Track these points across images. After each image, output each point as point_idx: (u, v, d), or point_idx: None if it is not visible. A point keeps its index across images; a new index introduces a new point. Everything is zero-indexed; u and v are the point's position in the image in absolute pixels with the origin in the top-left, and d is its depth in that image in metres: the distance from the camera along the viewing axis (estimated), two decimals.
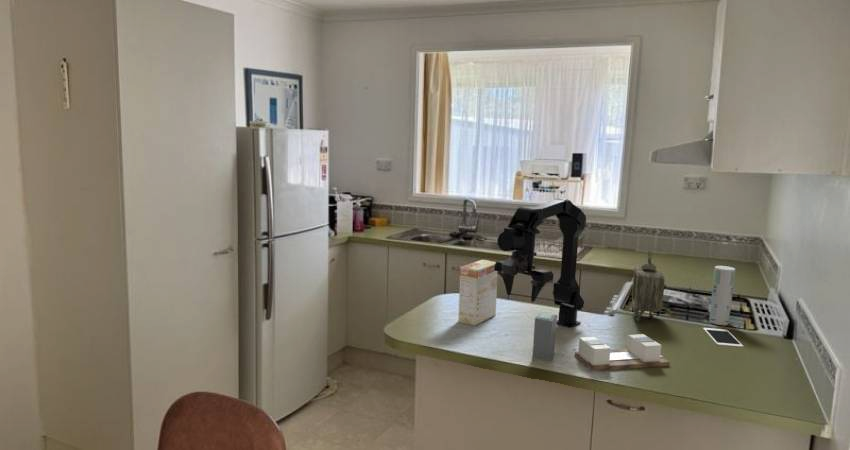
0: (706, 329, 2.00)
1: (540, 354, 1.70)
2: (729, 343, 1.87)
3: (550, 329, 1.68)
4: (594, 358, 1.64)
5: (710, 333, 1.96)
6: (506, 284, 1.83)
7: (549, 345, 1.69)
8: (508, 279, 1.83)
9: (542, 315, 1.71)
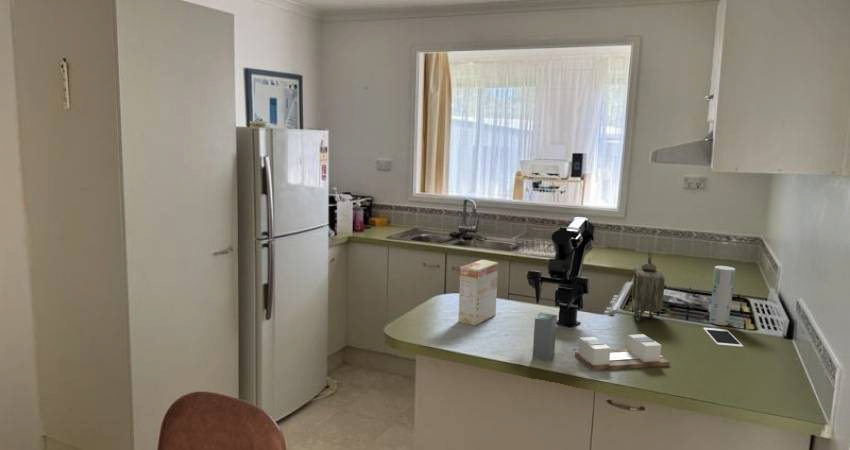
0: (706, 329, 2.00)
1: (540, 354, 1.70)
2: (729, 343, 1.87)
3: (550, 329, 1.68)
4: (594, 358, 1.64)
5: (710, 333, 1.96)
6: (537, 291, 1.81)
7: (549, 345, 1.69)
8: (539, 288, 1.82)
9: (542, 315, 1.71)
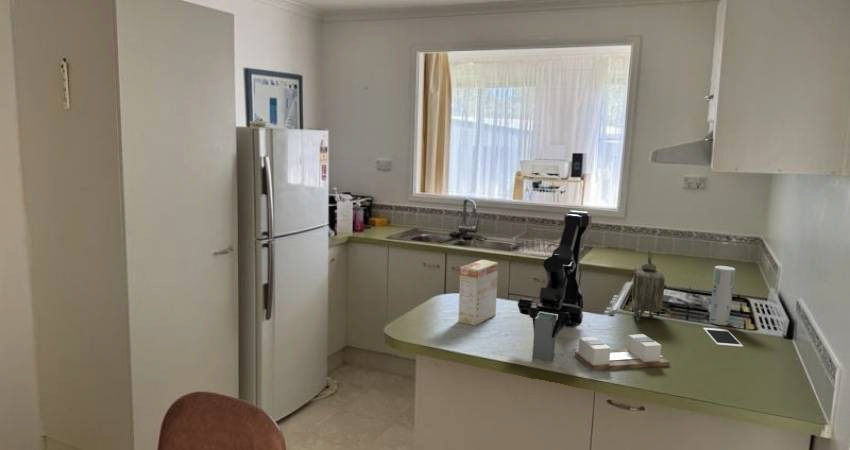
0: (706, 329, 2.00)
1: (540, 354, 1.70)
2: (729, 343, 1.87)
3: (550, 329, 1.68)
4: (594, 358, 1.64)
5: (710, 333, 1.96)
6: None
7: (549, 345, 1.69)
8: None
9: (542, 315, 1.71)
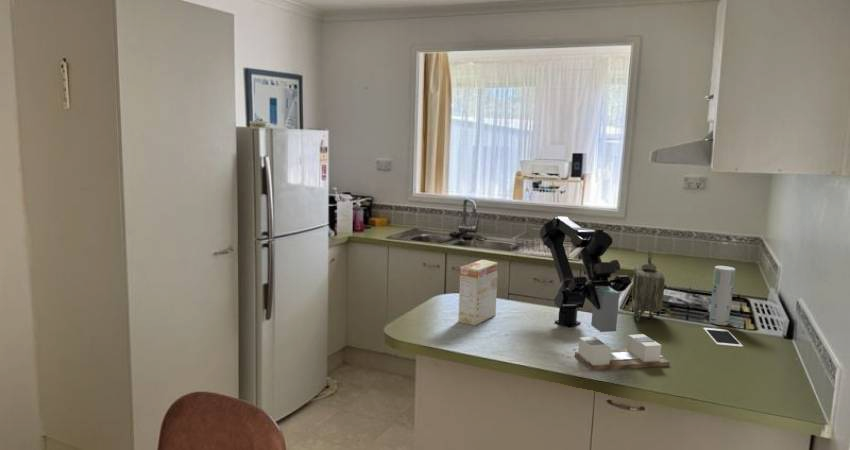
0: (706, 329, 2.00)
1: (607, 327, 1.75)
2: (729, 343, 1.87)
3: (617, 301, 1.74)
4: (594, 358, 1.64)
5: (710, 333, 1.96)
6: (596, 297, 1.76)
7: (616, 316, 1.75)
8: None
9: (603, 289, 1.76)
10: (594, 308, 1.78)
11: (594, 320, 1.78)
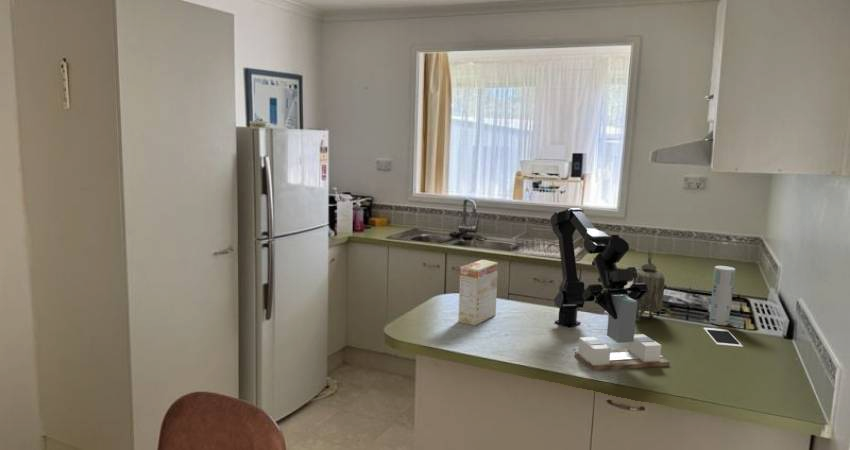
0: (706, 329, 2.00)
1: (624, 337, 1.66)
2: (729, 343, 1.87)
3: (635, 310, 1.66)
4: (594, 358, 1.64)
5: (710, 333, 1.96)
6: (612, 306, 1.67)
7: (634, 326, 1.66)
8: None
9: (620, 298, 1.67)
10: (610, 317, 1.70)
11: (610, 330, 1.70)
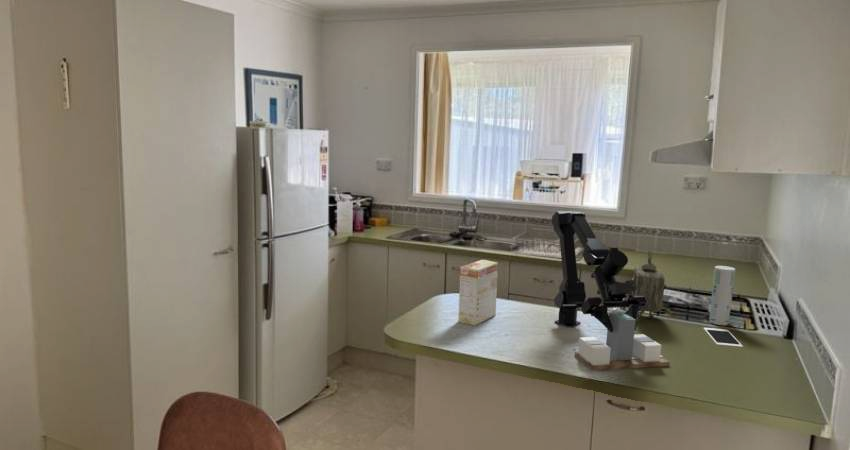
0: (706, 329, 2.00)
1: (623, 355, 1.67)
2: (729, 343, 1.87)
3: (633, 328, 1.66)
4: (594, 358, 1.64)
5: (710, 333, 1.96)
6: (608, 319, 1.68)
7: (632, 344, 1.67)
8: None
9: (618, 315, 1.68)
10: (609, 335, 1.71)
11: None
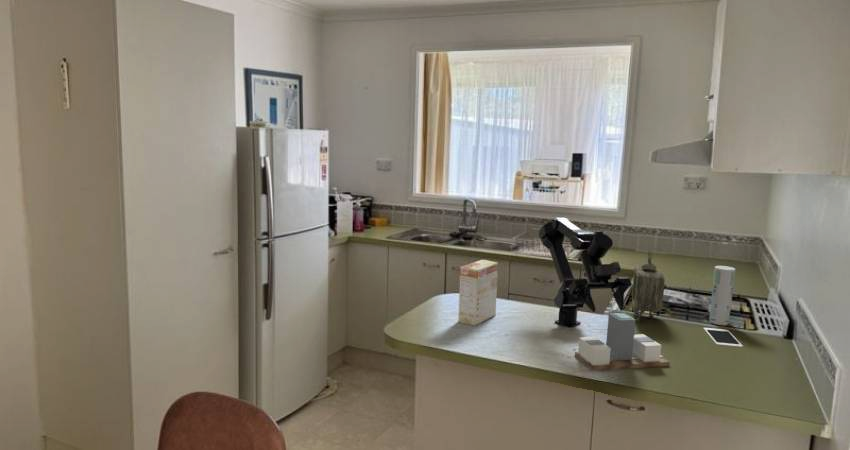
0: (706, 329, 2.00)
1: (623, 355, 1.67)
2: (729, 343, 1.87)
3: (633, 328, 1.66)
4: (594, 358, 1.64)
5: (710, 333, 1.96)
6: (591, 299, 1.76)
7: (632, 344, 1.67)
8: None
9: (618, 315, 1.68)
10: (609, 335, 1.71)
11: None
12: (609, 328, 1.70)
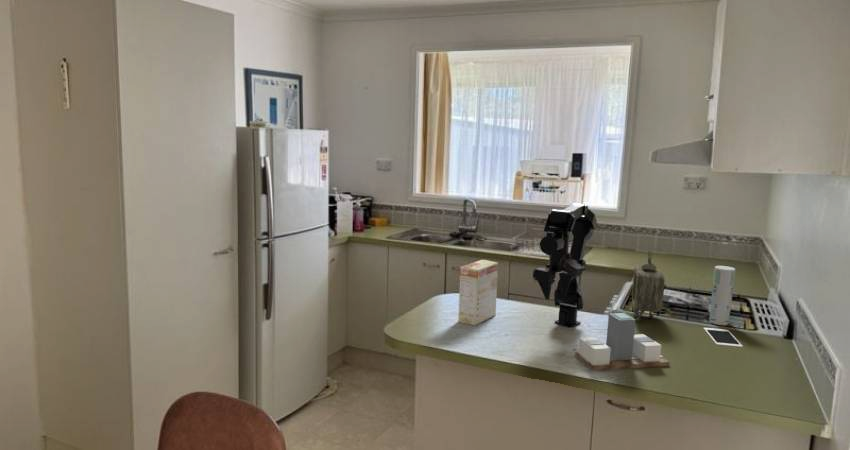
0: (706, 329, 2.00)
1: (623, 355, 1.67)
2: (728, 343, 1.87)
3: (633, 328, 1.66)
4: (594, 358, 1.64)
5: (710, 333, 1.96)
6: (550, 290, 1.83)
7: (632, 344, 1.67)
8: None
9: (618, 315, 1.68)
10: (609, 335, 1.71)
11: None
12: (609, 328, 1.70)
